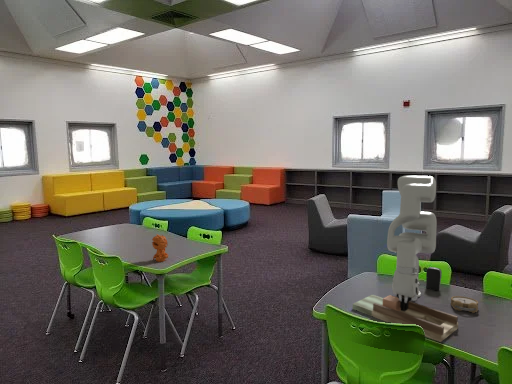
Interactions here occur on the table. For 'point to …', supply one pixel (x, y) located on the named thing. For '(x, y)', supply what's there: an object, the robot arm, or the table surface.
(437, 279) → the battery charger
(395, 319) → the track
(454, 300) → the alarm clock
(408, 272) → the robot arm
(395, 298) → the block
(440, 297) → the table surface
